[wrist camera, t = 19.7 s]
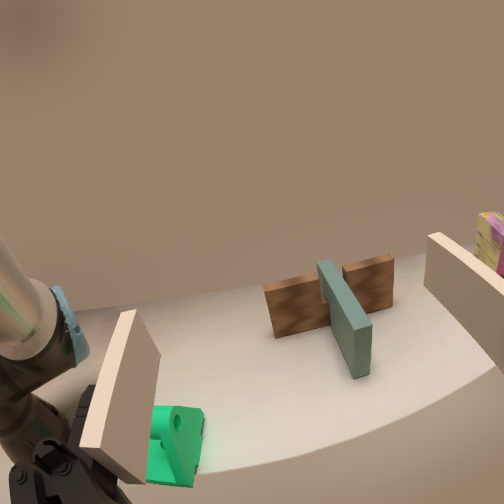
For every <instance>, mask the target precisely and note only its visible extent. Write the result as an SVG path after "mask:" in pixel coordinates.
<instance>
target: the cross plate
mask: <svg viewBox="0 0 504 504" xmlns="http://www.w3.org/2000/svg"><path fill="white" fill-rule="evenodd" d="M317 269H318V277H319V281H320V289H321V297H322V296H325V298H326V300H327V302H328V304H329V307H330V319H331V329H332V331H333V333H334V336H335V338H336V340H337V342H338V345H339V347H340V349H341V351H342V354H343V356H344V358H345V360H346V363H347V365H348V367H349V370H350V372H351V374H352V377H353V379H356V378H359V377H362V376H365V375H368V374H369V373H370V360H371V344H372V323H371V321H370V320H369V318H368V317H367V315H366V313H365V312H364V310H363V309H362V307H361V305H360V304H359V302H358V301H357V299H356V297H355V296H354V294H353V293H352V291H351V290H350V288H349V286H348V285H347V283H346V282H345V280H344V279H343V277H342V276H341V274H340V273H339V271H338V269H337V268H336V266H335V265H334V264H333V262H332V261H331V259H328V260H324V261H320V262H317Z"/></svg>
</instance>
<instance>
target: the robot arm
mask: <svg viewBox="0 0 504 504" xmlns="http://www.w3.org/2000/svg"><path fill="white" fill-rule="evenodd" d="M424 286H425V287H426V288H427V289H428V290H429V291H430V292H431V293H432V294H433V295H434V296H435V297H436V298H437V300H438V301H439V302H440V303H441V304H442V305H443V306H444V307H445V308H446V309H447V310H448V311H449V312H450V313H451V314H452V315H453V316H454V317H455V318H456V319H457V321H458V322H459V323H460V324H461V325H462V326H463V327H464V328H465V329H466V330H467V331H468V333H469V334H470V335H471V336H472V337H473V338H474V339H475V340H476V342H477V343H478V344H479V345H480V346H481V347H482V348H483V350H484V351H485V352H486V353H487V354H488V356H489V357H490V358H491V359H492V360H493V361H494V363H495V364H496V365H497V366H498V367H499V369H500V370H501V371H502V372H503V373H504V275H502V274H497V273H496V272H494V271H493V270H492V269H490V268H489V267H488V266H486V265H485V264H484V263H483V262H481V261H480V260H479V259H477V258H476V257H475V256H473V255H472V254H470V253H469V252H468V251H466V250H465V249H464V248H462V247H461V246H459V245H458V244H456V243H455V242H454V241H452V240H451V239H449V238H448V237H446V236H445V235H443V234H442V233H440V232H438V233H434V234H431V235H428V236H427V253H426V266H425V277H424ZM89 353H90V348H89V345H88V343H87V341H86V338H85V336H84V334H83V332H82V330H81V328H80V327H79V324H78V322H77V319H76V317H75V315H74V312H73V310H72V308H71V306H70V304H69V302H68V300H67V297H66V295H65V293H64V291H63V289H62V288H61V287H60V286H58V285H57V286H54V287H52V286H51V287H49V288H48V287H47V286H46V285H45V284H43V283H42V282H40V281H38V280H35V279H30V278H28V277H27V276H26V274H25V272H24V271H23V269H22V268H21V266H20V265H19V263H18V261H17V260H16V258H15V257H14V255H13V253H12V252H11V250H10V248H9V247H8V245H7V243H6V242H5V240H4V238H3V236H2V234H1V233H0V445H1V446H2V448H3V449H4V450H5V452H6V453H7V455H8V457H9V458H10V459H11V461H12V462H13V463H15V465H14V466H13V467H12V468H11V471H10V473H9V488H10V498H11V504H132V503H131V502H130V501H129V499H128V498H127V497H126V495H125V494H124V493H123V491H122V490H121V489H120V488H119V487H118V486H117V479H118V478H119V479H120V480H122V481H123V482H125V483H126V484H146V474H147V462H148V451H149V441H150V431H151V423H152V414H153V406H154V398H155V391H156V384H157V377H158V370H159V363H160V357H161V355H160V353H159V351H158V349H157V347H156V346H155V344H154V342H153V340H152V338H151V336H150V334H149V333H148V331H147V329H146V327H145V325H144V323H143V321H142V319H141V317H140V315H139V313H138V311H137V309H136V310H131V311H126V312H122V313H121V314H120V317H119V320H118V322H117V325H116V328H115V331H114V333H113V336H112V339H111V342H110V344H109V347H108V350H107V353H106V356H105V359H104V362H103V365H102V368H101V371H100V374H99V377H98V380H97V384H96V385H89V386H88V387H87V389H86V390H85V391H84V393H83V394H82V396H81V399H80V402H79V405H78V409H77V411H76V415H75V416H76V418H74V421H73V425H72V428H71V432H70V429H69V424H68V421H67V419H66V418H65V416H64V415H63V414H62V413H61V412H60V411H59V410H58V409H57V408H56V407H55V406H53V405H52V404H50V403H48V402H46V401H45V400H43V399H41V398H39V397H38V396H36V395H34V394H33V393H31V392H32V391H34V390H36V389H37V388H39V387H41V386H42V385H44V384H46V383H47V382H49V381H51V380H52V379H54V378H56V377H58V376H59V375H61V374H63V373H64V372H66V371H68V370H69V369H71V368H75V367H77V365H78V364H79V363H80V362H82V361H83V360H85V359H86V358H87V357H88V356H89Z"/></svg>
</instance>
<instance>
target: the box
mask: <svg viewBox="0 0 504 504" xmlns="http://www.w3.org/2000/svg"><path fill="white" fill-rule="evenodd" d="M474 256H475V257H476V258H477V259H479V260H480V261H481V262H483V263H484V264H485V265H486V266H488V267H489V268H490V269H492V270H493V271H494V272H496V273H497V274H502V275H504V217H503V216H502V215H501V214H499V213H498V212H489V213H480V214H479V216H478V228H477V236H476V243H475V251H474Z"/></svg>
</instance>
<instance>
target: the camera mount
mask: <svg viewBox="0 0 504 504" xmlns="http://www.w3.org/2000/svg"><path fill="white" fill-rule="evenodd" d="M203 417H204V413H203V412H202V410H201V409H200V408H191V407H182V406H153V414H152V423H151V431H150V441H149V451H148V462H147V474H146V483H153V484H160V485H169V486H178V487H191V488H192V487H193V481H194V474H195V468H196V466H199V460H200V453H201V446H202V440H203V437H202V436H201V429H202V423H203Z"/></svg>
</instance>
